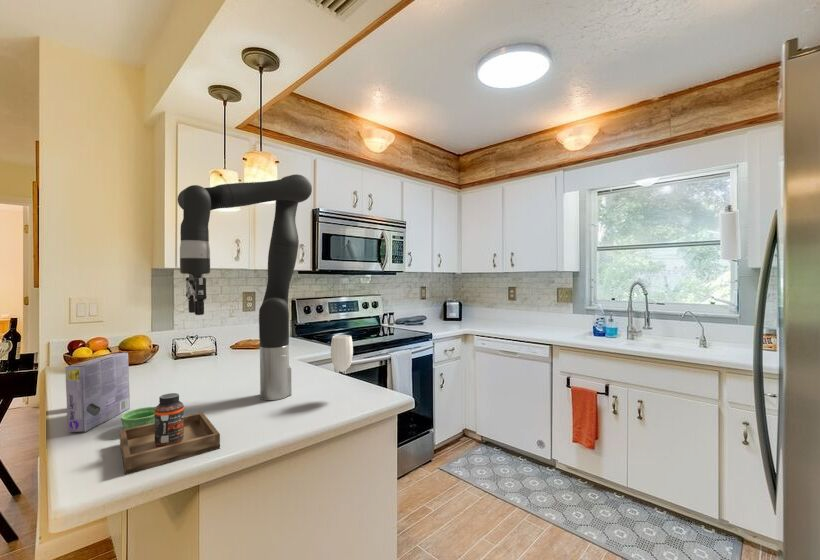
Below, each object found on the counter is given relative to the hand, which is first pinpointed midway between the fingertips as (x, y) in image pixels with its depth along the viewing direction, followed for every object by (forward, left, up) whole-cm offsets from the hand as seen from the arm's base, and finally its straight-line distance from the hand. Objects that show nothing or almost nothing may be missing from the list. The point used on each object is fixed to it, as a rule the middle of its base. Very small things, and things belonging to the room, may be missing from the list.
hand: (196, 313), depth 108 cm
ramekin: (+13, -1, -30) cm, 33 cm away
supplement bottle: (+9, +16, -29) cm, 34 cm away
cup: (-40, +13, -30) cm, 52 cm away
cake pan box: (+21, -16, -30) cm, 40 cm away
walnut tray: (+9, +16, -30) cm, 35 cm away
